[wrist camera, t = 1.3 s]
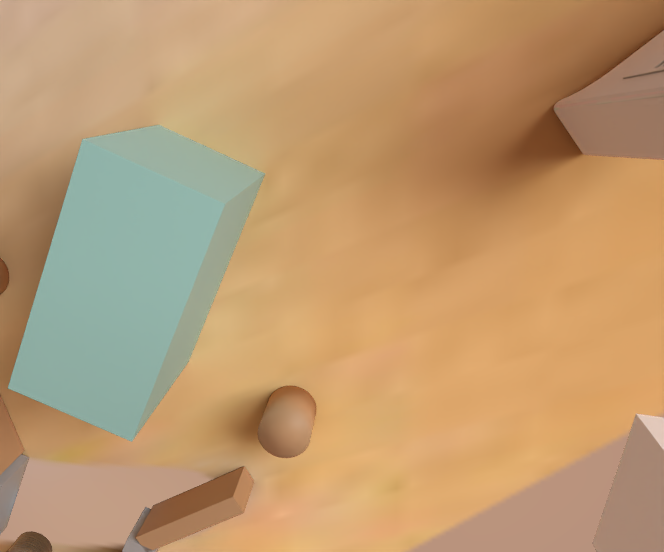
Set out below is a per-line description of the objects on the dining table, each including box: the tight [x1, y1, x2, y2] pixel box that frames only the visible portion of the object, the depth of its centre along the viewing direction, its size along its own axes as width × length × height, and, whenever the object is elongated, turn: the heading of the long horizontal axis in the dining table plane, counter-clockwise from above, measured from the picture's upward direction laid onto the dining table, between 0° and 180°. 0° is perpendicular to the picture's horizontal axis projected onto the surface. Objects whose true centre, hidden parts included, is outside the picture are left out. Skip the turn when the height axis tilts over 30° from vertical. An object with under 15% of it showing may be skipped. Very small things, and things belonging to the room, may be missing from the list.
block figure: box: [0, 258, 316, 552], centre depth 30 cm, size 18×15×2 cm
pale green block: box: [8, 125, 265, 442], centre depth 25 cm, size 5×10×7 cm, turn 156°
